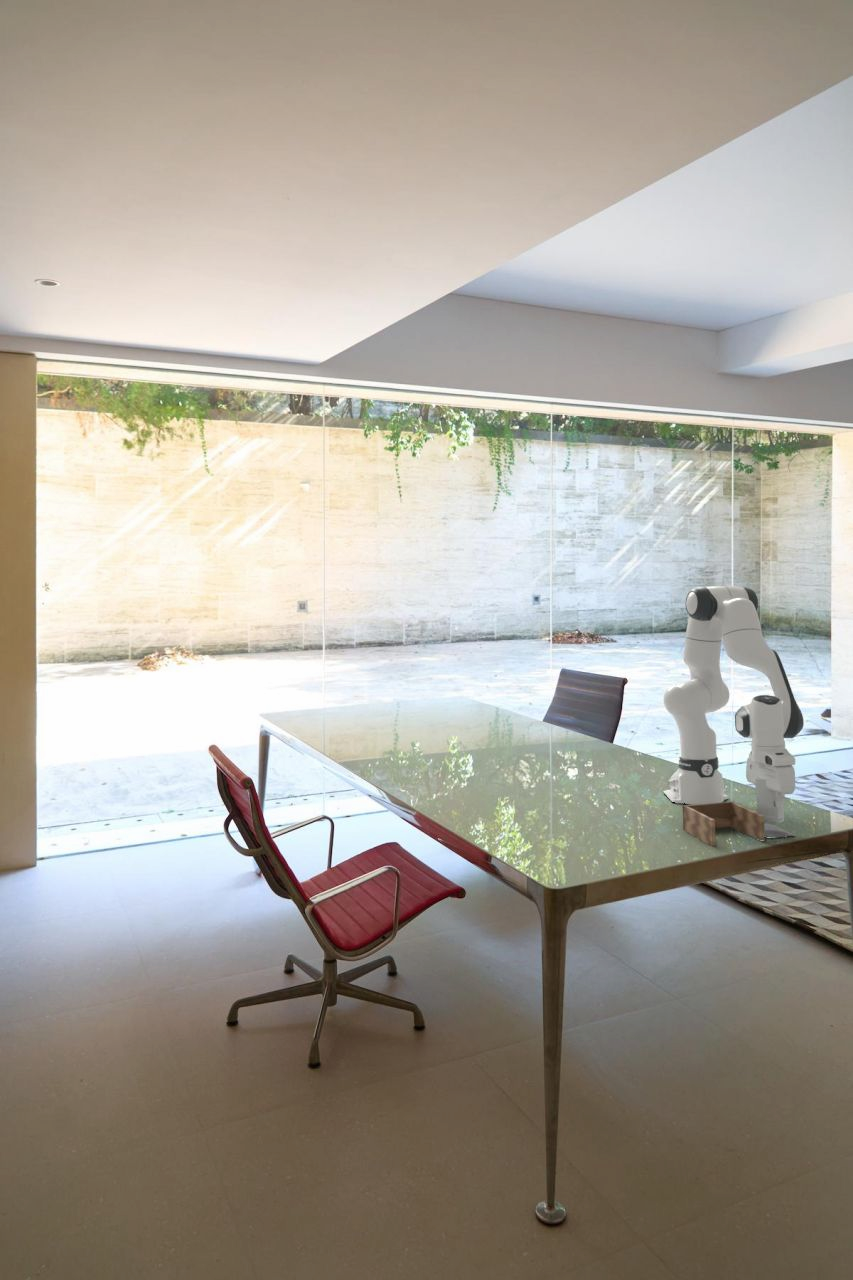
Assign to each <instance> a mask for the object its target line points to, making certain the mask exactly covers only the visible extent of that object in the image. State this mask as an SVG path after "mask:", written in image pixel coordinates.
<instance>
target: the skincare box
mask: <svg viewBox="0 0 853 1280" xmlns="http://www.w3.org/2000/svg"><path fill="white" fill-rule="evenodd" d="M755 780H756V788H755V792H756V805H757V809H756V810H757V813H759V814H761V815H764V822H766V823H767V822H768V823H775V824H776V823H777V824H780V823H782V822H785V810H784V800H783V801H782V808H776V807H774V801H775V799H776V795H775V792H774V791H772V790H769V789H767V788H766V779H764V778H761V777H758V778H756V779H755Z"/></svg>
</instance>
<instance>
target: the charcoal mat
mask: <svg viewBox="0 0 853 1280" xmlns="http://www.w3.org/2000/svg"><path fill="white" fill-rule="evenodd" d="M764 835H765V836H766V837H785V836H794V835H795V836H796V834H794V833H792V832H790V831H788V830H786V829H783V828H781V827H779V826H777V825H774V824H764ZM785 838H786V837H785Z"/></svg>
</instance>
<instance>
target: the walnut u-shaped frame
mask: <svg viewBox="0 0 853 1280" xmlns="http://www.w3.org/2000/svg"><path fill="white" fill-rule="evenodd" d="M682 821H683V823H682V824H683V825H682V827H683V831H685V832H686V833H688V834H690V835H692V836H694V838H695V837H696V838H697V839H699V840H700V841H702V842H704V843H706V844H707V845H710V846H712V847H716V841H717V840H716V829H720V828H729V827H730V828H733V829H735V830H737V831H739V832H741V833H743V832H744V833H743V834H745V833H746V834H745V835H747V834H748V835H747V836H749V835H751V836H753V837H755V838H757V839H759V840H766V838H765V835H764V825H765V821H764V815H761V814H759V813H758V811H757V812H756V811H754V810H752V809H750V808H748V807H745V806H743V805H741V804H738V803H736V802H734V801H723V802H720V803H708V804H695V805H692V804H684V805H682ZM751 836H750V837H751ZM753 837H752V838H753ZM755 838H754V839H755ZM757 839H756V840H757ZM759 840H758V841H759Z"/></svg>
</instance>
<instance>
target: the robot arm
mask: <svg viewBox="0 0 853 1280" xmlns="http://www.w3.org/2000/svg"><path fill="white" fill-rule="evenodd" d="M758 608H759V598H758V596H757V593H756V592H755V590H753V589H751V588H750V587H749V588H748V587H745V586H733V585H712V586H705V585H703V586H702V585H701V586H696V587H693V588H691V589H690V590H689V592H688V594H687V595H686V598H685V610H686V613H687V615H688V616H689V618H688V621H687V627H686V632H685V639H684V646H683V647H684V649H683V662H684V664H685V665H687V666H688V669H689V673H690V680H688V681H682V682H678V683H675V684H673V685H672V686H670V687H668V688H667V689H666V691H665V692H664V695H663V704H664V707H665V709H666V711H667V712H668V713H669V714H670V715H672V717H673V718H674V720H675V723H676V726H677V729H678V734H679V739H680V741H679V742H680V743H679V744H680V756H679V757H678V758H679V759H678V769H677V770H676V771H675V772H674V773H673V774H672V775H671V776H670V779H668V781H667V784H668V787H670V788H669V789H666V790H663V792H664V793H665V794H666V795H667V797H668V798H669V799H670V800H671V801H672V802H675V803H674V804H684V803H685V804H684V805H695V804H708V803H720V802H725V800H728V799H729V797H728V795H727V794H725V790H724V789H725V787H724V781H723V780H724V779H723V774H722V773H721V772H720V771H719V764H720V763H719V758H718V755H717V735H716V732H715V731H714V729H713V728H712V727H710V726H709V724H708V720H707V715H706V714H708V713H714V712H716V711H719V710H721V709H722V708H723V707H725V706H726V705H727V704H728V703H729V699H730V691H729V690H730V689H729V688H728V685H727V684H726V683H725V682H724V681H723V678H722V674H721V664H720V663H721V661H720V660H721V659H720V658H721V651H722V642H723V647H724V651H725V653H726V655H727V656H728V658H730V659H731V661H733V662H735V663H736V664H739V665H741V666H743V667H746V668H750V669H754V670H756V671H759V672H761V673H762V674H764V675H765V676H766V678H767V679H768V680H769V683H770V686H771V688H772V692H773V695H769V694H768V695H767V694H760V695H757V696H756V695H755V696H754V697H752V699H751V701H750V703H749V704H746V705H744V706H743V705H742V706H741V707H739V709H737V711H736V712H735V714H734V725H735V731H736V732H737V733H738V734H739V735H740V736H742V737H743V738H747V739H752V740H751V743H750V746H751V751H750V752H749V753H748V757H747V758H746V766H745V767H746V768H745V777H746V780H747V782H749V783H750V784H754V788H755V789H756V780H755V779H756V778H758V777H761V778H764V779H766V788H767V789H769V790H772V791H774V792H775V795H776V799H775V801H774V807H776V808H782V801H783V802H784V799H785V797H786V795H792V794H793V793H794V792H795V790H796V771H795V767H794V766H795V765H796V757H795V756H794V755H793V754H792V753H790V751H788V749H787V748H786V741H785V739H793V738H795V737H796V736H798V734H800V733H801V732H802V730H803V728H804V723H805V722H804V717H803V716H804V715H803V713H802V710H801V708H800V707H799V704H798V703H797V700H796V697H795V695H794V692H793V691H792V690H793V689H792V687H791V684H790V682H789V679H788V676H787V672H786V670H785V668H784V665H783V663H782V660H781V658H780V656H779V654H778V653H777V651H776V650H774V649H772V648H771V647H770V645H768V644H767V642H766V640H765V638H764V635H763V630H762V625H761V620H760V618H759V615H758V614H759V613H758V612H757V611H758ZM667 797H666V798H667ZM668 798H667V799H668ZM669 799H668V800H669ZM670 800H669V801H670ZM671 801H670V802H671ZM672 802H671V803H672Z"/></svg>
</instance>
